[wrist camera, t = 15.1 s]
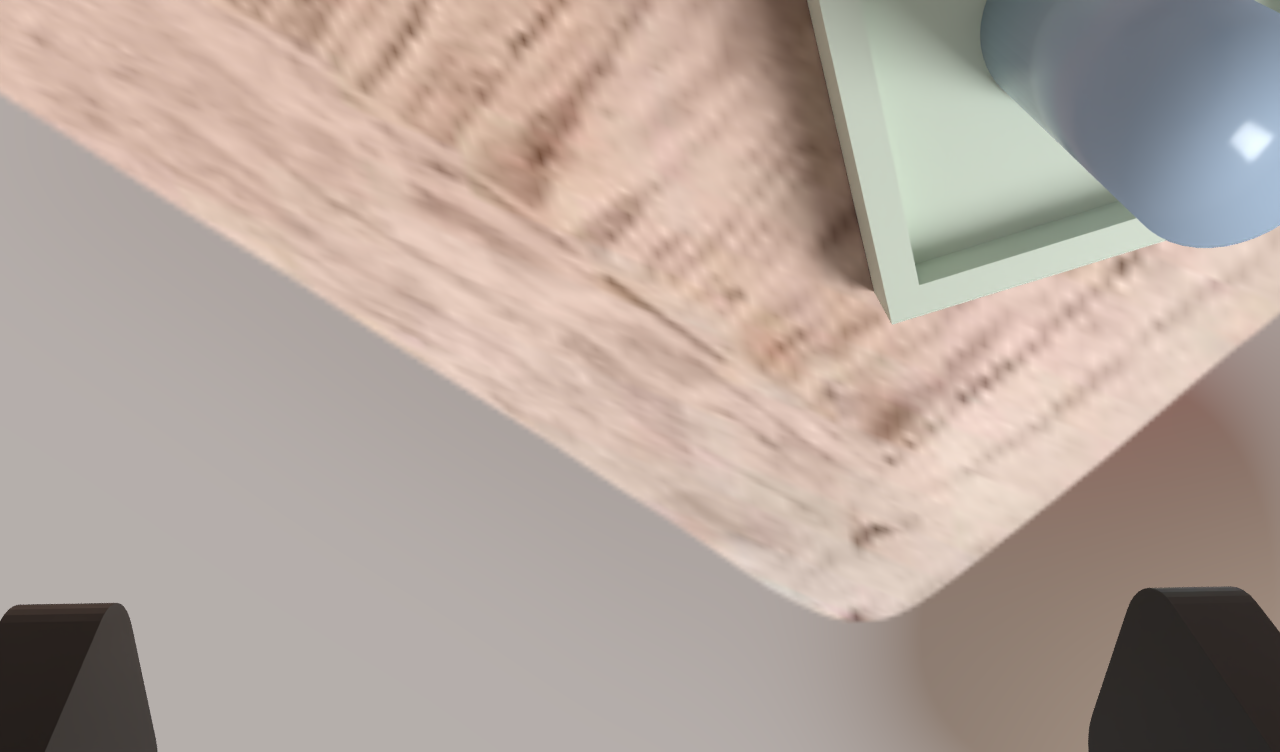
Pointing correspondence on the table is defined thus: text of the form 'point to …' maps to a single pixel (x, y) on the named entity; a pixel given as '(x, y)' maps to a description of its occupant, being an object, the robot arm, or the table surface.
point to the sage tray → (953, 161)
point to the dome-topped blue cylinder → (1154, 103)
